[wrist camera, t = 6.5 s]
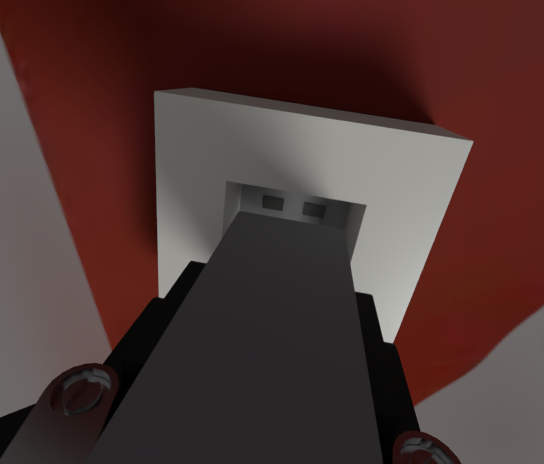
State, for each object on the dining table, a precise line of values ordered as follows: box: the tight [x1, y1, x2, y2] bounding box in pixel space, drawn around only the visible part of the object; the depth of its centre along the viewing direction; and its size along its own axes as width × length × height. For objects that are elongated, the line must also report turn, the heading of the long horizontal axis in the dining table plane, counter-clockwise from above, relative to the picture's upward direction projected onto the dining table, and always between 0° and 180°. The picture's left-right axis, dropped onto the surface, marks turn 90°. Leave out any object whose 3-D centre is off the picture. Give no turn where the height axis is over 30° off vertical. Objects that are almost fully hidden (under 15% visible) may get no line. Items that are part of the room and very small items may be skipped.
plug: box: [84, 211, 383, 464], centre depth 8 cm, size 4×4×11 cm
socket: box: [154, 88, 473, 343], centre depth 15 cm, size 11×11×4 cm
